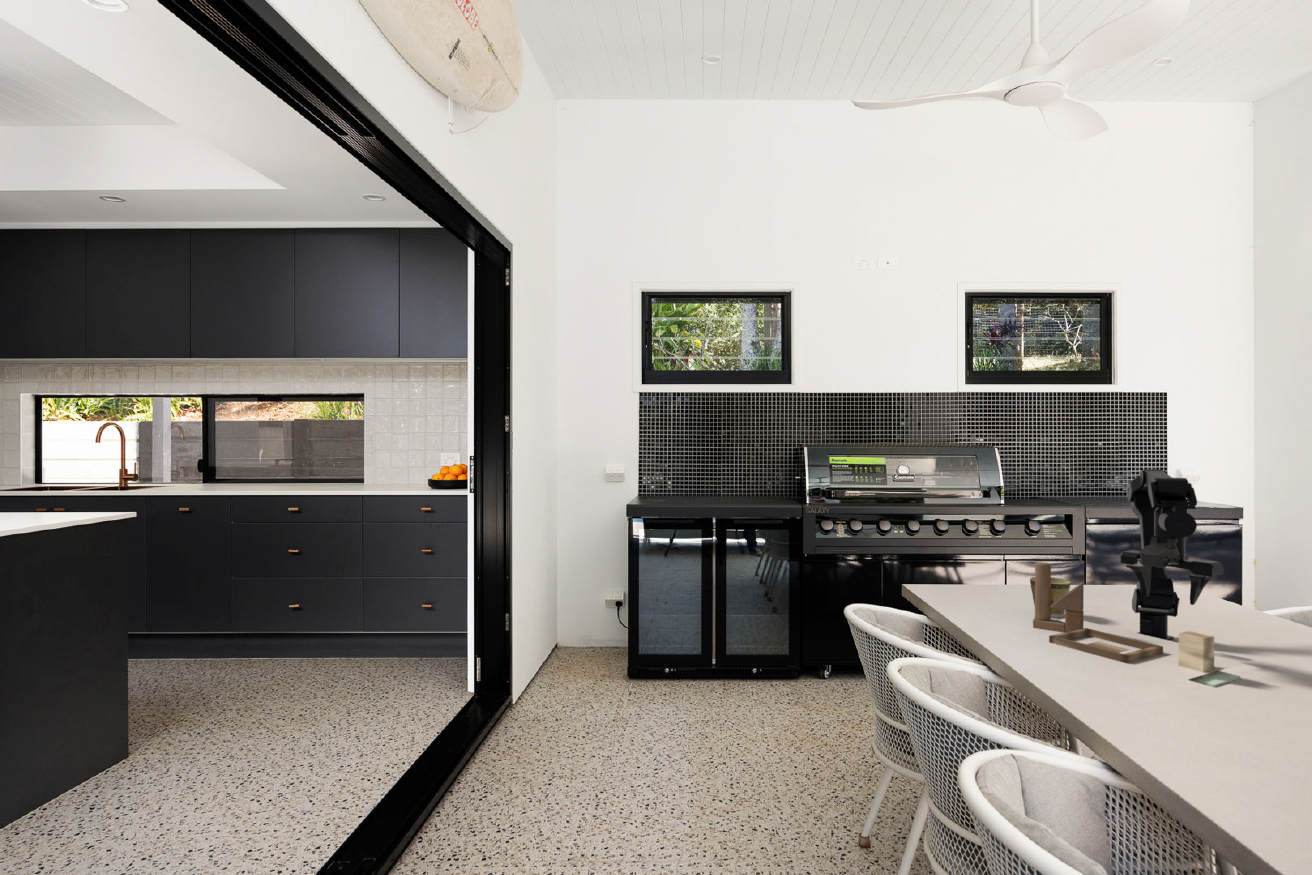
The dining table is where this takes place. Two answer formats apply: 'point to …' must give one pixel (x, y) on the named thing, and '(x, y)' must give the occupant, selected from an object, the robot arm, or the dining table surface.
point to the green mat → (1216, 678)
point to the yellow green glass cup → (1054, 593)
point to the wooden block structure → (1056, 603)
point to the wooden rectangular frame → (1106, 645)
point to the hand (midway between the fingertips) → (1169, 600)
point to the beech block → (1196, 651)
